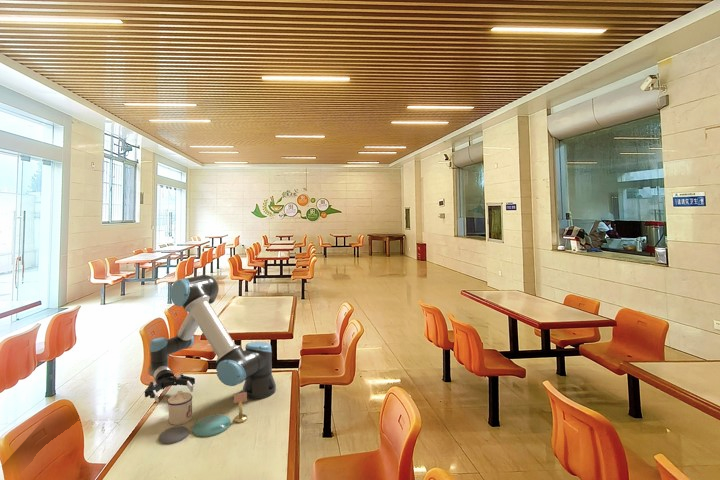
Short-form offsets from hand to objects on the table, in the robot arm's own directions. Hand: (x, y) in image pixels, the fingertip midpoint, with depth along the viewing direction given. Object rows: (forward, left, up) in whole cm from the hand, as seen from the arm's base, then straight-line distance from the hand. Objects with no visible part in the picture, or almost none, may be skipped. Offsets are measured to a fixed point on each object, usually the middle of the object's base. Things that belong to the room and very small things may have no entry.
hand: (175, 393), depth 156 cm
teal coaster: (-15, +19, -6) cm, 25 cm away
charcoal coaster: (-2, +21, -6) cm, 22 cm away
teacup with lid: (-3, +8, -7) cm, 11 cm away
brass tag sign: (-26, +18, -6) cm, 33 cm away
